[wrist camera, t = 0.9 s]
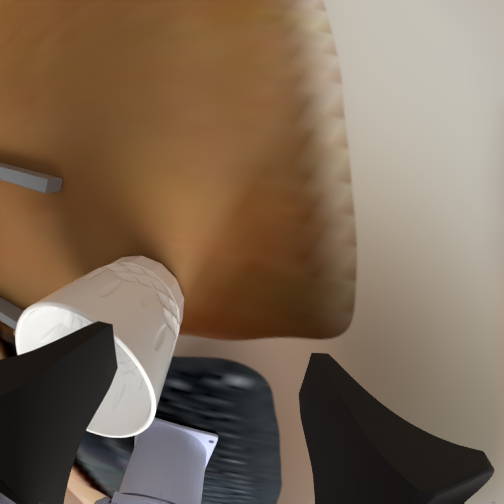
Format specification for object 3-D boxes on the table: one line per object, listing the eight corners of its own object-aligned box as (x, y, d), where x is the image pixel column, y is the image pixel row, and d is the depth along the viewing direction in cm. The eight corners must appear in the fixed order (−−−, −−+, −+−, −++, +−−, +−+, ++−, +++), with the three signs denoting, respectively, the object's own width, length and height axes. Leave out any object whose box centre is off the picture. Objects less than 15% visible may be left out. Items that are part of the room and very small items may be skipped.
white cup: (95, 239, 19) (2, 284, 9) (198, 255, 19) (154, 327, 10) (98, 332, 21) (35, 408, 11) (189, 353, 21) (159, 453, 11)
